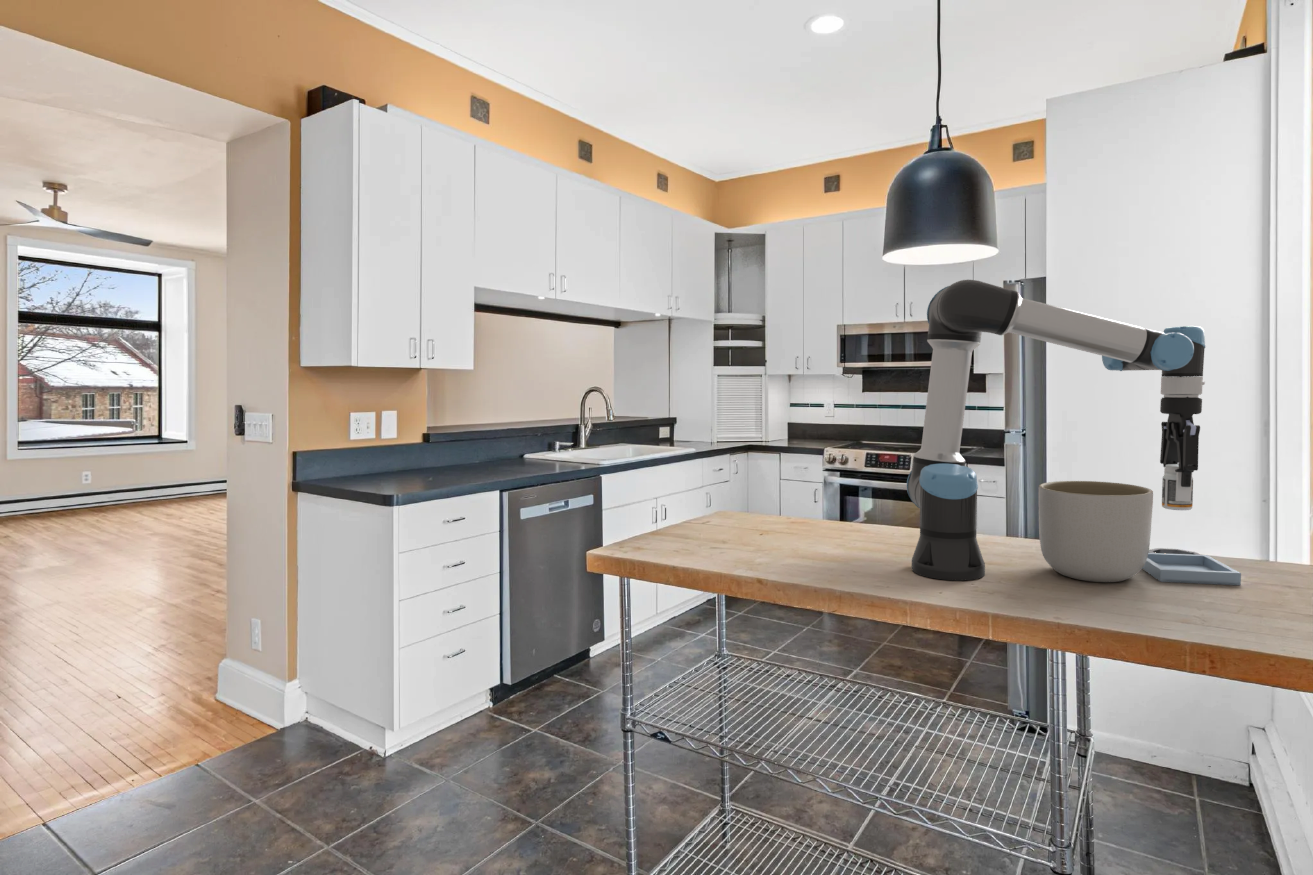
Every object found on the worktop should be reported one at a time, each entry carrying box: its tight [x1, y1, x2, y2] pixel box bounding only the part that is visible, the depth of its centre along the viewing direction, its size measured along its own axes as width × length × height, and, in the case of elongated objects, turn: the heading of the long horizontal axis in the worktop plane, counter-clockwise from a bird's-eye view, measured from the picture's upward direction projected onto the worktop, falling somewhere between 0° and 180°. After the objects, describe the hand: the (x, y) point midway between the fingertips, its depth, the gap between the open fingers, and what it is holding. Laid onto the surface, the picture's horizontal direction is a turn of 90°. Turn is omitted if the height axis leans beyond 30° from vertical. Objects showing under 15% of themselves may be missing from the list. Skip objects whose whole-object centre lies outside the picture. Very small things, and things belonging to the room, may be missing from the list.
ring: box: [1148, 547, 1201, 555], centre depth 167 cm, size 10×10×1 cm
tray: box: [1141, 553, 1242, 586], centre depth 154 cm, size 14×15×2 cm
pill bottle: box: [1161, 464, 1194, 511], centre depth 163 cm, size 6×6×10 cm
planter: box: [1038, 480, 1154, 583], centre depth 154 cm, size 21×21×19 cm
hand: (1176, 498), depth 164 cm, fingers closed on pill bottle, 6 cm apart
